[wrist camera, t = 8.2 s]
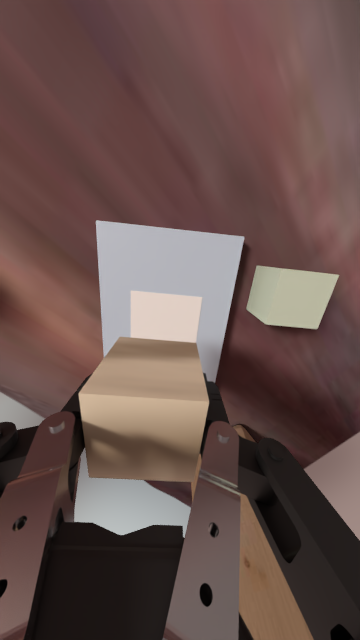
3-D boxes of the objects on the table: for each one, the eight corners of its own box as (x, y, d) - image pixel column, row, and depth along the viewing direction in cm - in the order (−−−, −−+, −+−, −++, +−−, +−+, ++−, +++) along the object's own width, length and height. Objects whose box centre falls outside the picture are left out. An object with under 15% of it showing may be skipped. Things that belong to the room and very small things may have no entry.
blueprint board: (102, 223, 18) (95, 220, 16) (239, 238, 18) (244, 236, 17) (110, 384, 24) (105, 393, 23) (209, 391, 25) (211, 400, 24)
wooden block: (240, 419, 27) (385, 796, 8) (268, 455, 30) (422, 793, 11) (186, 446, 29) (203, 802, 10) (217, 477, 32) (276, 799, 13)
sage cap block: (256, 265, 19) (281, 268, 15) (300, 270, 19) (339, 274, 15) (245, 309, 21) (265, 324, 16) (286, 312, 21) (317, 329, 16)
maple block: (119, 336, 11) (78, 393, 7) (196, 342, 12) (209, 401, 7) (120, 397, 13) (89, 477, 8) (188, 402, 13) (193, 482, 9)
